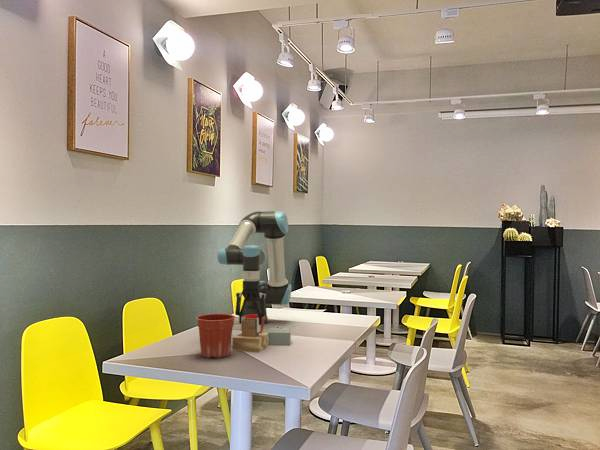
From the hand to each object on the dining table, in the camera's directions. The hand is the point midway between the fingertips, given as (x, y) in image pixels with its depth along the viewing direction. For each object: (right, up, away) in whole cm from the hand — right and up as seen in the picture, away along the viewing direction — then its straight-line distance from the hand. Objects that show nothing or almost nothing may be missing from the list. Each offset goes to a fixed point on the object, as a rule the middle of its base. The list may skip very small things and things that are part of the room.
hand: (250, 331), depth 226 cm
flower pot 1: (-14, -8, -12) cm, 20 cm away
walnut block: (0, -2, 0) cm, 2 cm away
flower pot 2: (-1, -8, +26) cm, 27 cm away
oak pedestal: (0, -8, 0) cm, 8 cm away
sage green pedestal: (+12, -8, +11) cm, 18 cm away
